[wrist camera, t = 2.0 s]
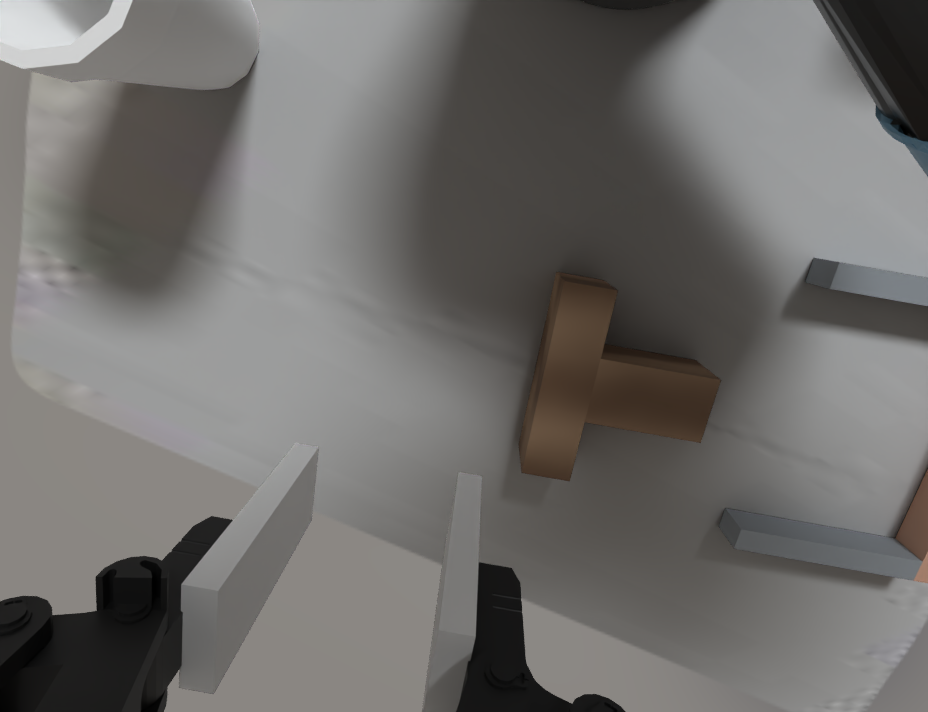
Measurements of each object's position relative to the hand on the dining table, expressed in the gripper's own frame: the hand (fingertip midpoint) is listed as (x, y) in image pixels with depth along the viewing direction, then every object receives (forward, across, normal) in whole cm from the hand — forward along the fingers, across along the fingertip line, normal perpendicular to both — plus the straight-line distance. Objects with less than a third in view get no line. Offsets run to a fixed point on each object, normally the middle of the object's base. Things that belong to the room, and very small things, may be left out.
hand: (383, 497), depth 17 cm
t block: (+19, +11, 0) cm, 22 cm away
